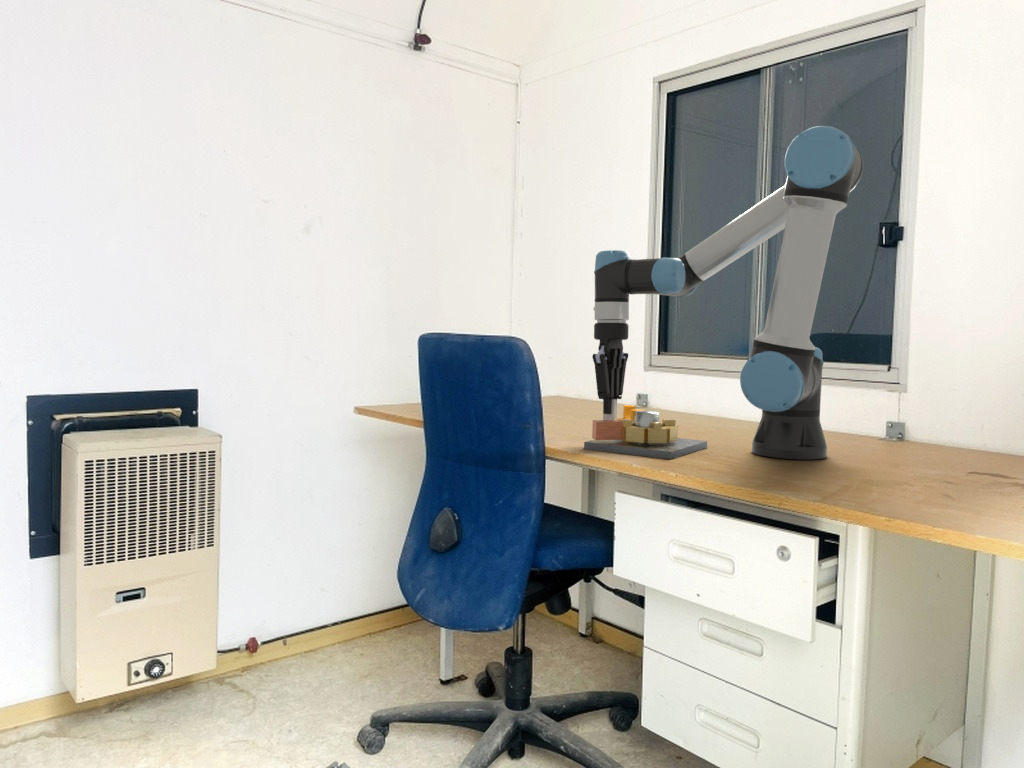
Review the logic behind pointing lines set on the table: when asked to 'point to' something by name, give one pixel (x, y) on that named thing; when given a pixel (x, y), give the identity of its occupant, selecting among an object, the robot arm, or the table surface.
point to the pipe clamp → (629, 413)
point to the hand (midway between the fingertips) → (609, 428)
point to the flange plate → (648, 449)
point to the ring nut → (635, 431)
